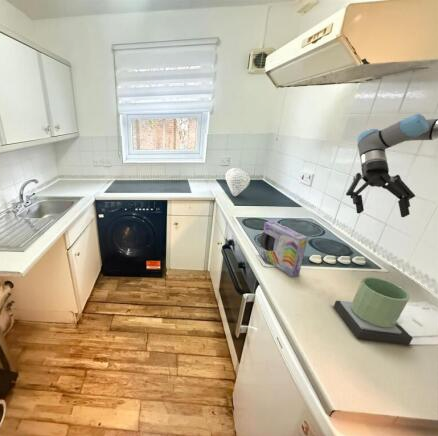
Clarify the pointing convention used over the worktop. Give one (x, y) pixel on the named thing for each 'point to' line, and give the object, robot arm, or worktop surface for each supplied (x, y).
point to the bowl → (379, 301)
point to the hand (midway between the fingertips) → (382, 213)
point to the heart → (237, 181)
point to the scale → (371, 327)
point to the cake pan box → (283, 247)
